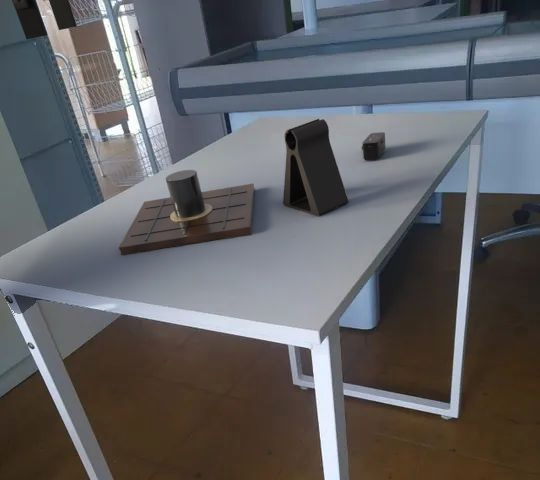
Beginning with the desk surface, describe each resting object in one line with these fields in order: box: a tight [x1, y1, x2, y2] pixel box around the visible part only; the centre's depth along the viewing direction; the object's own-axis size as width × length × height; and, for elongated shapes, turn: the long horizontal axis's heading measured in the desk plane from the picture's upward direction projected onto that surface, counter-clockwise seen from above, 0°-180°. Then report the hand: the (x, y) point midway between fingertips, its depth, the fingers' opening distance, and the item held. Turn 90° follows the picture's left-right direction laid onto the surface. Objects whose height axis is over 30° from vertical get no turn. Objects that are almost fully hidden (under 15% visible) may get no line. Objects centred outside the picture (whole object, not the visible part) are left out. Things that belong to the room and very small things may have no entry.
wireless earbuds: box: [360, 131, 386, 162], centre depth 101 cm, size 5×7×3 cm, turn 156°
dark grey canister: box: [165, 169, 206, 218], centre depth 87 cm, size 5×5×6 cm
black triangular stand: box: [282, 118, 349, 217], centre depth 82 cm, size 9×6×12 cm, turn 36°
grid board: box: [118, 183, 256, 255], centre depth 89 cm, size 20×20×1 cm
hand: (53, 32), depth 78 cm, fingers open, 13 cm apart
